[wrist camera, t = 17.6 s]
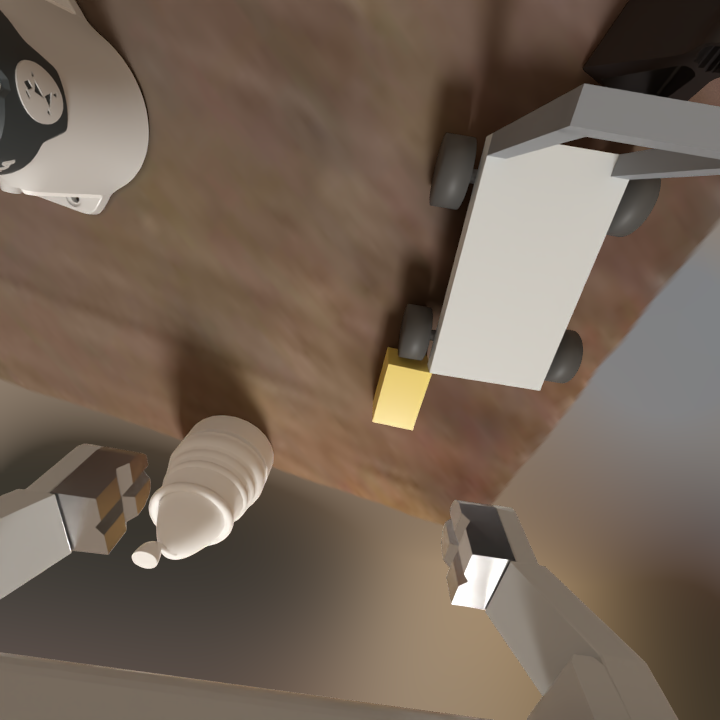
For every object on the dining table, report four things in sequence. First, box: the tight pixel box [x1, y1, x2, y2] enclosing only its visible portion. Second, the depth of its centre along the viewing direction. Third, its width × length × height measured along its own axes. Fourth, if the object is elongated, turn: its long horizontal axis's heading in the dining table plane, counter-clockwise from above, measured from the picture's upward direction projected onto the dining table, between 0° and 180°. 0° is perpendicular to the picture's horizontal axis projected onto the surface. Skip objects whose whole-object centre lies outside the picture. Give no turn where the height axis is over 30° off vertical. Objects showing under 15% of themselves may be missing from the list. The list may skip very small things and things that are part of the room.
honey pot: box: [132, 415, 274, 569], centre depth 44 cm, size 13×13×18 cm
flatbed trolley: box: [398, 83, 720, 391], centre depth 30 cm, size 22×18×21 cm
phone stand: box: [583, 0, 720, 101], centre depth 26 cm, size 9×6×12 cm, turn 59°
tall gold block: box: [372, 347, 432, 430], centre depth 44 cm, size 5×8×5 cm, turn 168°
